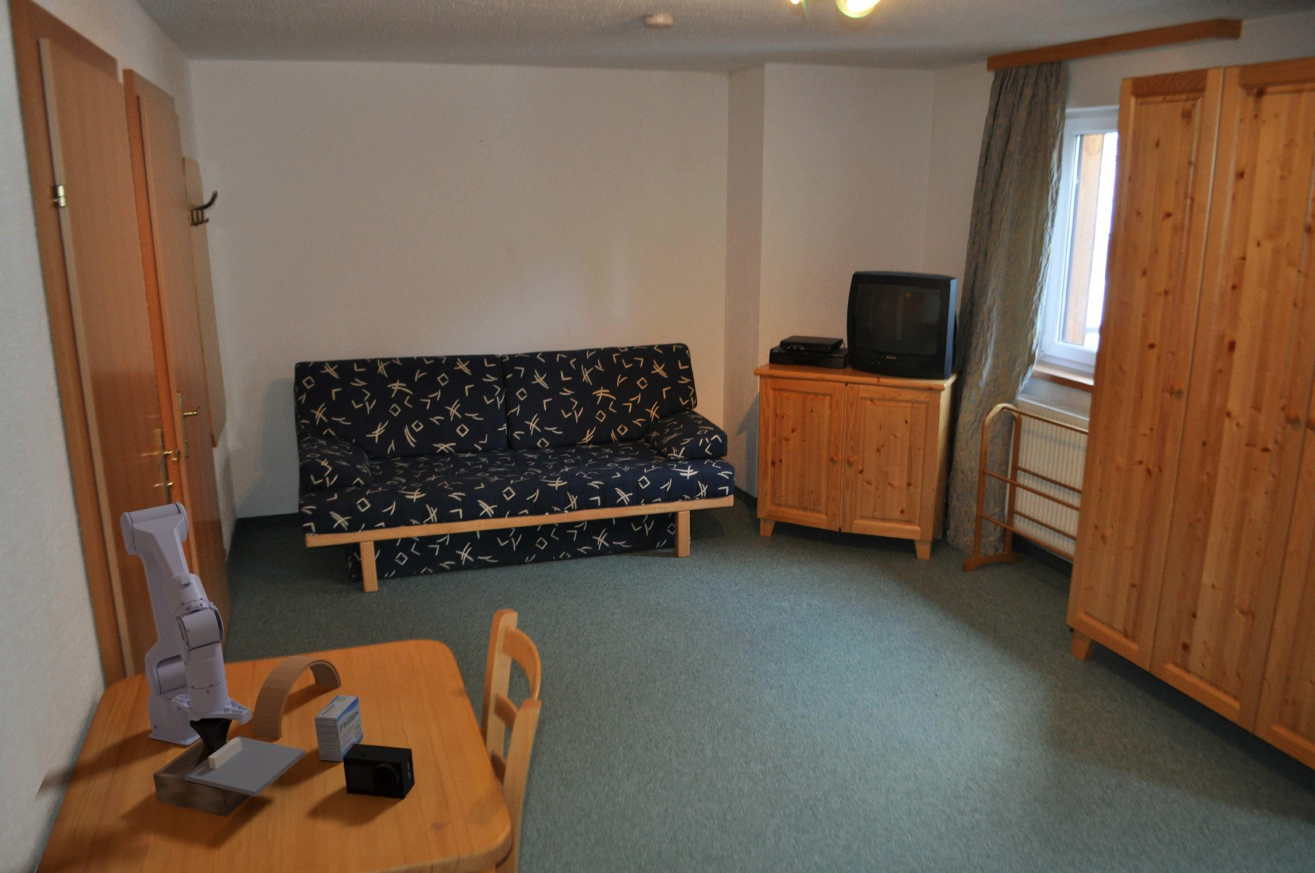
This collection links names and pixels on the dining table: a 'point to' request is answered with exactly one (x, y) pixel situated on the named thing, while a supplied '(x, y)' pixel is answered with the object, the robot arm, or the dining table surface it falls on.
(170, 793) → the box
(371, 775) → the digital camera
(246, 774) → the lid
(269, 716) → the arch
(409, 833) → the dining table surface
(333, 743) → the medicine box
